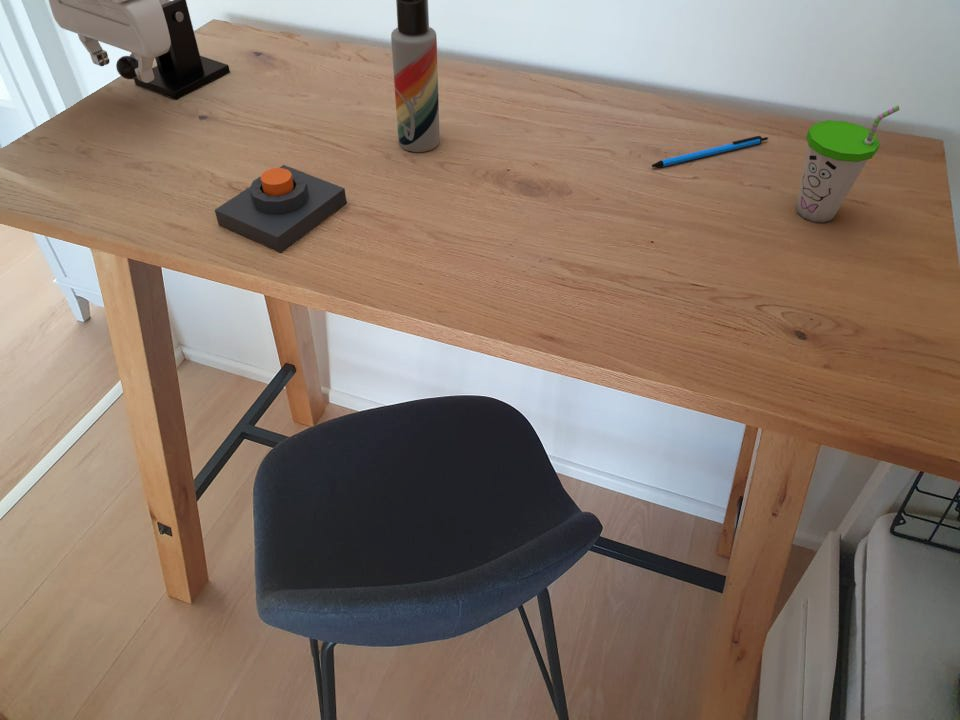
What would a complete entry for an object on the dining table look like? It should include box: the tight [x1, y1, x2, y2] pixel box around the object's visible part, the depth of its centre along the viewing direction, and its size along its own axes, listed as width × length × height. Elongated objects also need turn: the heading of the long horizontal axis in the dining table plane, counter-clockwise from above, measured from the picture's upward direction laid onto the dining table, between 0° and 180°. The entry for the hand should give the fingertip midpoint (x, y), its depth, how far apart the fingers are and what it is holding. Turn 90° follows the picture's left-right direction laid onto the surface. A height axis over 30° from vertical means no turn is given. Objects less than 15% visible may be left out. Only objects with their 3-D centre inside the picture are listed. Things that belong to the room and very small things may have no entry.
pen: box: [650, 135, 769, 168], centre depth 104 cm, size 1×19×1 cm, turn 114°
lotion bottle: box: [390, 0, 440, 153], centre depth 99 cm, size 6×6×20 cm
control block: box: [214, 164, 348, 253], centre depth 92 cm, size 12×10×4 cm
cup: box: [795, 105, 900, 224], centre depth 90 cm, size 8×8×15 cm
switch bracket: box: [133, 0, 231, 100], centre depth 115 cm, size 11×9×12 cm
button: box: [260, 167, 294, 196], centre depth 91 cm, size 4×4×2 cm
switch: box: [115, 0, 171, 81], centre depth 111 cm, size 13×3×3 cm
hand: (124, 72), depth 110 cm, fingers open, 8 cm apart
